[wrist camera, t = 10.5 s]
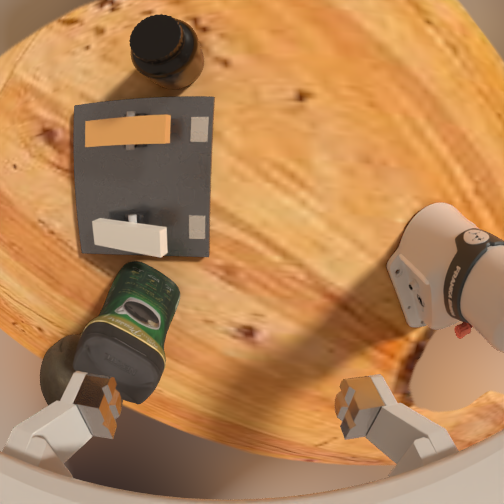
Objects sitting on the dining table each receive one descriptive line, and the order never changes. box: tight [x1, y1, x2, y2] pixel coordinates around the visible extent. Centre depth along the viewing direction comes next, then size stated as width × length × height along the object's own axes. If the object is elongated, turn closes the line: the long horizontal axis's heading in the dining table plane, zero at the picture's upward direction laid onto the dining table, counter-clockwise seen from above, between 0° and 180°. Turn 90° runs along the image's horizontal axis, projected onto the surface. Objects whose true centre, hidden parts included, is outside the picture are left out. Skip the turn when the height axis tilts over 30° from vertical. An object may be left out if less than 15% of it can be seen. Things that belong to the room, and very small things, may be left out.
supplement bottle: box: [130, 14, 204, 89], centre depth 26 cm, size 7×7×12 cm
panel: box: [74, 97, 215, 257], centre depth 35 cm, size 18×20×3 cm
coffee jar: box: [73, 261, 180, 404], centre depth 34 cm, size 10×8×19 cm
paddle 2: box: [92, 214, 168, 258], centre depth 34 cm, size 10×4×2 cm, turn 86°
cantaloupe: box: [40, 334, 123, 407], centre depth 39 cm, size 14×14×15 cm
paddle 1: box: [85, 111, 171, 150], centre depth 30 cm, size 10×4×2 cm, turn 86°
